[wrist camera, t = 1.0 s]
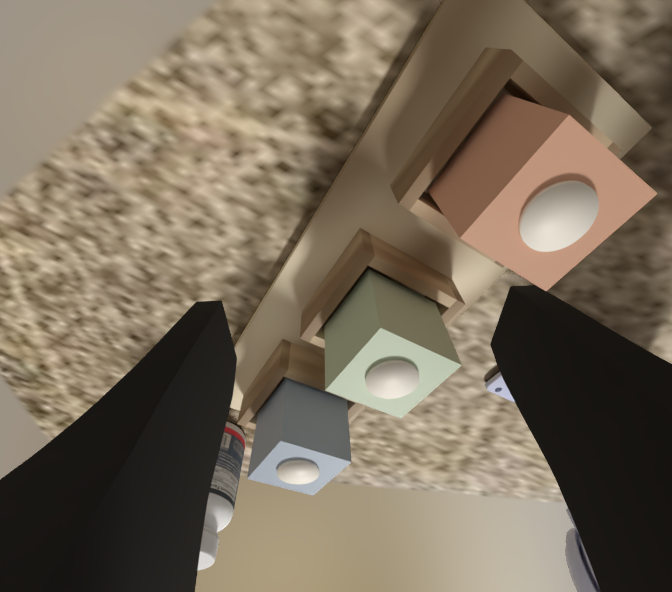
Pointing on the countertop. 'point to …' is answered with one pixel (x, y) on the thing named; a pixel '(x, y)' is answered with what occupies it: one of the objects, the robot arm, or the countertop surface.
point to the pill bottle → (222, 492)
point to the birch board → (417, 186)
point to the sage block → (387, 347)
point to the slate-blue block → (300, 438)
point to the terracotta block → (536, 190)
